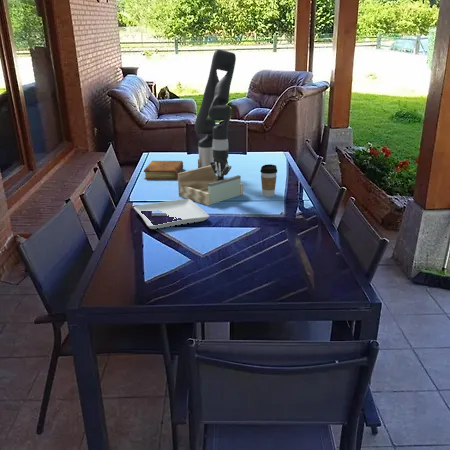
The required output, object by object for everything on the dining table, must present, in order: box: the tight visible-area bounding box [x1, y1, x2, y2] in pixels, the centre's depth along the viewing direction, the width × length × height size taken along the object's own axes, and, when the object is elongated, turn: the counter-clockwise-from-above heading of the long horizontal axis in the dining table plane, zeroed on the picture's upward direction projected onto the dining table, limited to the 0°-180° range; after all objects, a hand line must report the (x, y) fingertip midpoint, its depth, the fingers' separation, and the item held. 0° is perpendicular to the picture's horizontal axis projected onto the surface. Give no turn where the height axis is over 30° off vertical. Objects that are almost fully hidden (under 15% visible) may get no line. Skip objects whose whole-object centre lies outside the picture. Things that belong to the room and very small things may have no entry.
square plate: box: [133, 198, 210, 230], centre depth 221 cm, size 27×27×4 cm
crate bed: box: [177, 165, 244, 206], centre depth 248 cm, size 22×24×12 cm
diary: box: [143, 160, 184, 180], centre depth 290 cm, size 23×19×6 cm
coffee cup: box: [259, 163, 278, 198], centre depth 247 cm, size 8×8×15 cm
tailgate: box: [208, 174, 242, 205], centre depth 242 cm, size 2×20×10 cm, turn 134°
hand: (220, 182), depth 243 cm, fingers closed
